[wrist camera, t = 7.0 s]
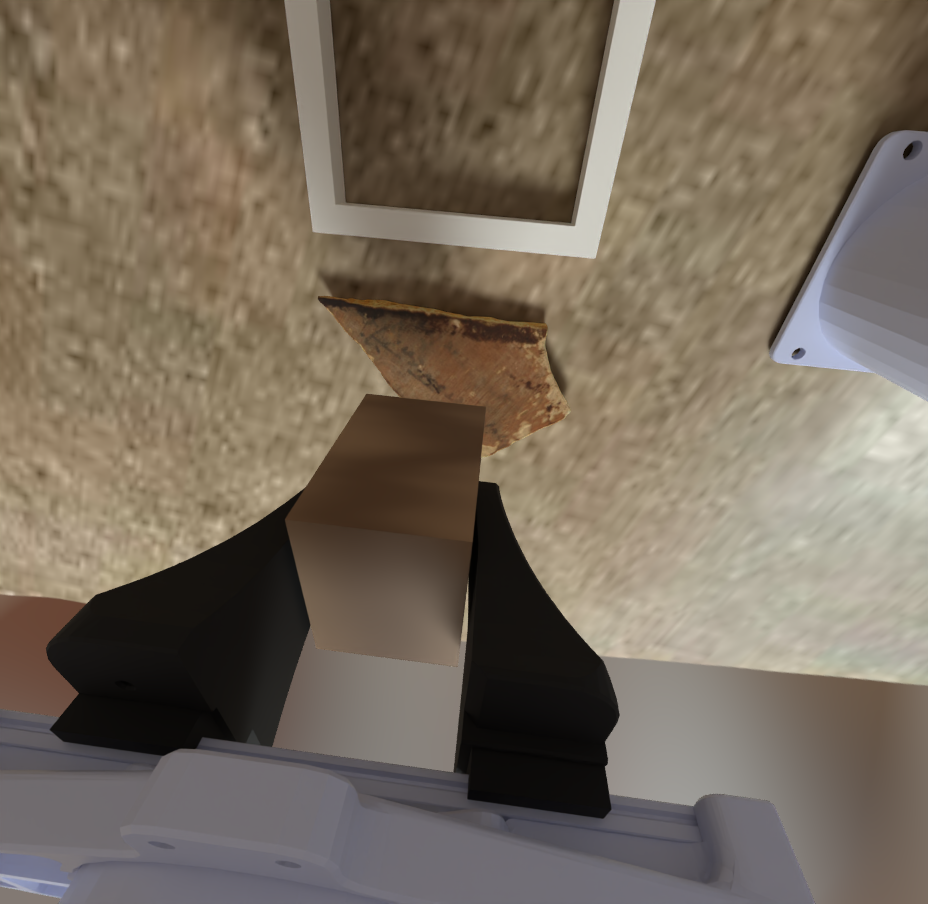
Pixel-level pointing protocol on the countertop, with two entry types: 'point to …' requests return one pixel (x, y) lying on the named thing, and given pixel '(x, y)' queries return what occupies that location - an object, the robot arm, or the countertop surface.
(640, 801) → the robot arm
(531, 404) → the shard
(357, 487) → the walnut block
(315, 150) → the white flat square frame
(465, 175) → the countertop surface
